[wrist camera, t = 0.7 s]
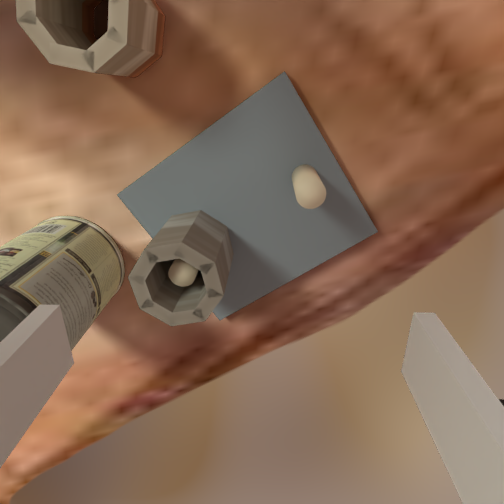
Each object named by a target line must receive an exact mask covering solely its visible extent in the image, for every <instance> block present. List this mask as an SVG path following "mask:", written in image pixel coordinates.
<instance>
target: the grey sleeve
mask: <svg viewBox="0 0 504 504" xmlns="http://www.w3.org/2000/svg"><path fill="white" fill-rule="evenodd" d="M233 255H234V253H233V249H232V245H231V240H230V236H229V232H228V228H227V226H226V225H224V224H222V223H221V222H219V221H218V220H216V219H215V218H213V217H211V216H210V215H208V214H207V213H205V212H203V211H202V210H199V211H193V212H188V213H183V214H177V215H172V216H171V217H170V218H169V220H168V221H167V222H166V223H165V224H164V226H163V227H162V228H161V229H160V231H159V232H158V233H157V234H156V236H155V237H154V238H153V239H152V240H151V242H150V243H149V244H148V245H147V247H146V248H145V249H144V251H143V252H142V254H141V256H140V258H139V259H138V261H137V263H136V264H135V266H134V268H133V269H132V271H131V273H130V274H129V276H128V279H129V281H130V284H131V287H132V289H133V292H134V295H135V298H136V300H137V303H138V306H139V308H140V309H141V310H143V311H145V312H146V313H148V314H150V315H152V316H154V317H155V318H157V319H159V320H161V321H163V322H164V323H166V324H168V325H170V326H176V325H183V324H190V323H196V322H203V321H206V319H207V318H208V317H209V315H210V314H211V312H212V311H213V310H214V308H215V307H216V306H217V304H218V303H219V302H220V300H221V299H222V297H223V296H224V293H225V288H226V284H227V280H228V276H229V272H230V267H231V263H232V259H233ZM179 258H180V259H181V260H183V261H185V262H186V263H188V264H190V265H192V266H193V267H195V268H197V269H198V273H197V275H196V278H195V280H194V282H193V283H192V284H191V285H189V286H185V287H182V286H178V285H175V284H174V283H173V282H172V281H171V280H170V278H169V274H168V272H169V269H170V267H171V265H172V263H173V262H174V260H175V259H179Z"/></svg>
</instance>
